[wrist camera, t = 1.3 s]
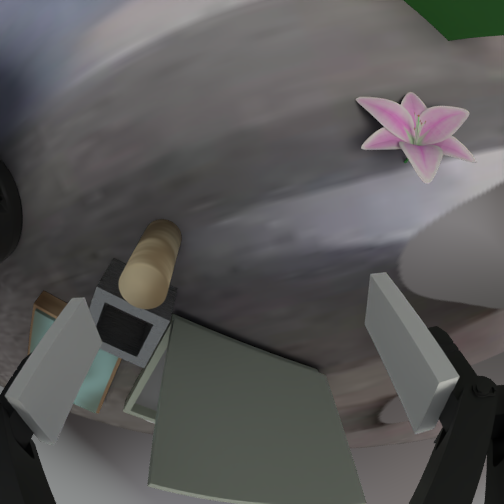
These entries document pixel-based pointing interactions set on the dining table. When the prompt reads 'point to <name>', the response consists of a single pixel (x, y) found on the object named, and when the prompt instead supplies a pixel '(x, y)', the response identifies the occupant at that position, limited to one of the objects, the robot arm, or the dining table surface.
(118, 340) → the silver square holder
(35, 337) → the teal lined wooden tray
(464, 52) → the dining table surface
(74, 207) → the dining table surface
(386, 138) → the lily
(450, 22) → the hardback book
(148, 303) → the beige rounded cylinder
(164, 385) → the case
